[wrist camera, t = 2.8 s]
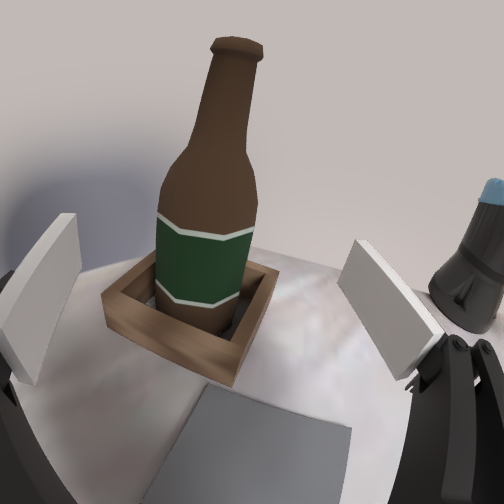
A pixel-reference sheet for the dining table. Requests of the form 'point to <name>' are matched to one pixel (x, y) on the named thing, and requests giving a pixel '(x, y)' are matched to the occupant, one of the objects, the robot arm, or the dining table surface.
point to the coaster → (251, 456)
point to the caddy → (179, 333)
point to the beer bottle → (210, 199)
